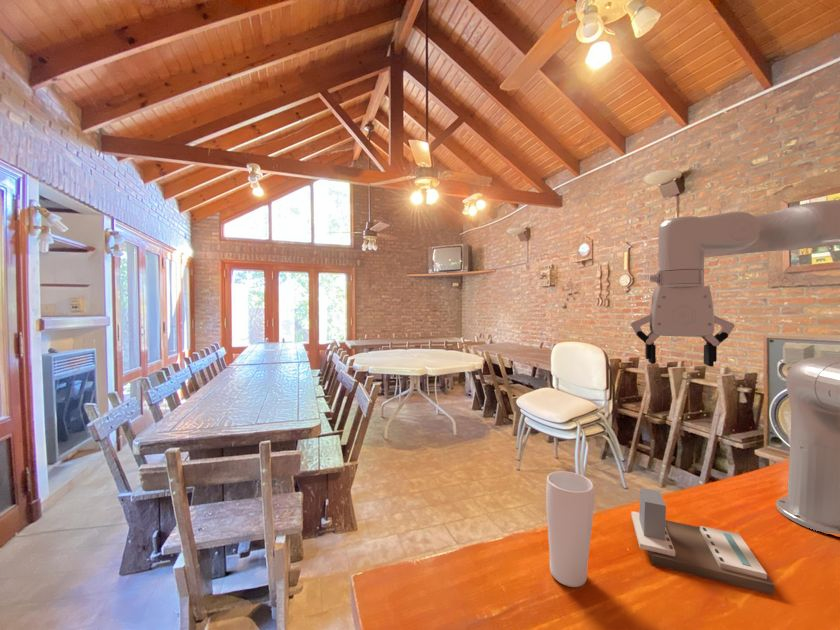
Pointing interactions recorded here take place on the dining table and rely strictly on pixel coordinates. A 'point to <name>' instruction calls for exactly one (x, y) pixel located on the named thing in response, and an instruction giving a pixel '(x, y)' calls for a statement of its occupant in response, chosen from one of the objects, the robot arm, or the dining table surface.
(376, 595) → the dining table surface
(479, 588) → the dining table surface
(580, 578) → the drinking glass
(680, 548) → the board
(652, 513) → the stub
